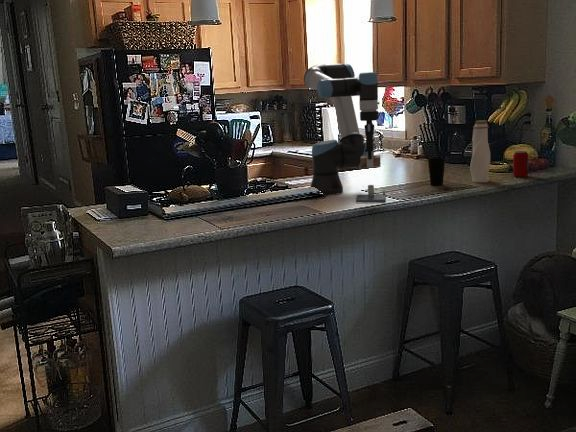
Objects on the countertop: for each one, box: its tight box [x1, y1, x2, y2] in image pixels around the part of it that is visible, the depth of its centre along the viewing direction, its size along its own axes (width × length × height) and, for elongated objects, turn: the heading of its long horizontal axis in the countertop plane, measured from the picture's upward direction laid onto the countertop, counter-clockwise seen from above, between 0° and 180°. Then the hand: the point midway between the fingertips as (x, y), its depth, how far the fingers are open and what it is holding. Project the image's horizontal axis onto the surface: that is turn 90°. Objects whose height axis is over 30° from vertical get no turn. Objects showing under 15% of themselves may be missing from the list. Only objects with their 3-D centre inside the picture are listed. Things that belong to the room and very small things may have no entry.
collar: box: [360, 154, 382, 169], centre depth 266 cm, size 8×8×4 cm
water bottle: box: [469, 119, 491, 183], centre depth 296 cm, size 10×9×28 cm
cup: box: [427, 157, 446, 187], centre depth 294 cm, size 8×8×12 cm
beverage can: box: [512, 150, 529, 178], centre depth 303 cm, size 7×7×12 cm
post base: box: [355, 184, 387, 203], centre depth 269 cm, size 12×12×6 cm
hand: (370, 165), depth 266 cm, fingers closed on collar, 8 cm apart
